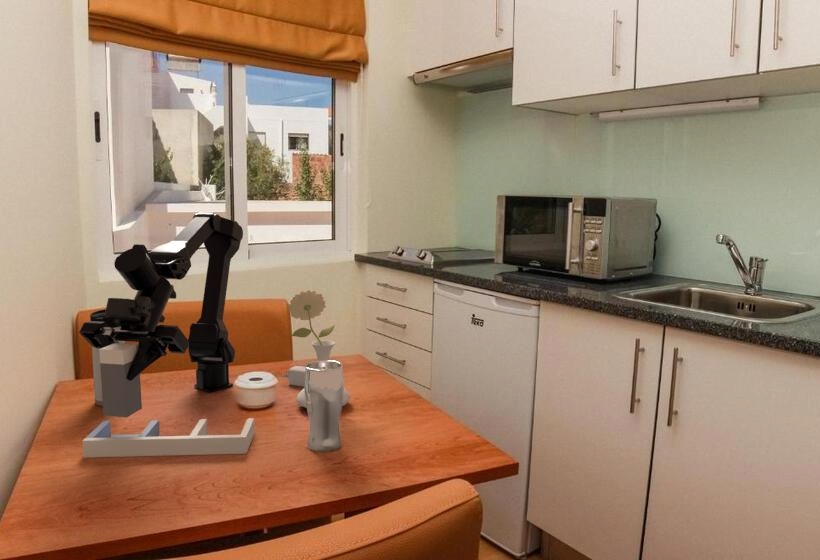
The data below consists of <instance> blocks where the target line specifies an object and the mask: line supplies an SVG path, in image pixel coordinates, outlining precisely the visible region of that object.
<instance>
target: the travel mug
mask: <svg viewBox="0 0 820 560" xmlns="http://www.w3.org/2000/svg"><path fill="white" fill-rule="evenodd" d="M105 310H106V308H105V309H101V310H100V309H99V310H96V311H93V312H92V313H90V315H89V317H90V320H89V321H98V322H106V323H107V324H108V325H109V326H110V328H113V329H115V330H120V328H121V327H120V326H117V325H116V324H115V323H114V322H115V320H116V319H115V318H112V317H109V316H108V317H106V316H105ZM120 343H125V341H121V342H120ZM91 354H92V357H91V358H92V372H93V373H92V375H93V387H94V388H93V390H94V391H93V392H94V403H95V404H96V406H100V407H103V401H102V385H101V369H100V353H99V349H97V348H95V347H93V346H92V345H91Z"/></svg>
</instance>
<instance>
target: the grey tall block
mask: <svg viewBox="0 0 820 560" xmlns="http://www.w3.org/2000/svg"><path fill="white" fill-rule="evenodd" d="M138 346H139V343H127V342H126V343H125V342H124V343H114V344H111V345H109V346H106V347H103V348H101V349H99V353H100V369H101V385H102V401H103V406H102V412H103V416H104V417H118V418H128V417H131V416H132V415H133V414H134V415H135V414H136V412H139V411H140V410H142V408H143V407H142V406H143V404H142V387H141V385H142V384H141V383H142V382H141V373H140V374H138V375H137V376H136V377H135V378H134V379H133V380H131V381H129V380H128V379H127V375H128V372H129V369H130V367H131V364H132V362H133V360H134V358H135V355H136V353H137V351H138Z"/></svg>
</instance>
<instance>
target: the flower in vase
mask: <svg viewBox="0 0 820 560" xmlns="http://www.w3.org/2000/svg"><path fill="white" fill-rule="evenodd" d="M289 302H290V303H289V304H288V305H287V309H288V312H289V313H290V316H291V317H292V318H294V319H300V321H308V322H309V327H310V329H309V328H306V327H300V328H298V329H296V330H295V331H294V332H292V334H291V336H292V337H298V338H307V337H308V336H309V335H310V334H313V335H314V336H315V338H316V339H317V340H314V341H312V342H311V343H310V344H311V346H312V347H313V349H314V351H315V353H316V358H317V361H319V360H330V355H331V351H332V349H333V347H334V346H335V344H336V342H335V341H334V340H328V339H323V340H322V339H320V338H325V337H327V336H329V335H330V334H332V332H333V330H334V329H335V324H334V325H332V326H330V327H326V328H325V329H322V330H321V331H320V332H319V333H318V335H317V334H316V333H315V330H313V326H312V321H311V319H315V317H318V316H319V317H320V316H321V313H323V312H324V309H326V308H327V307H326V301H325V300H324V297H323V294H322V293H317V292H316V291H315V290H313V291H311V290H307V291H300V293H299V294H298V293H297V294H295V295H294V296H293V297H292V299H291V300H290V301H289ZM350 401H351V395H350V393H349V391H348V390H346V389H345V388H344V395H343V403H342V407H343V406H345V405H347V404H348V403H349V402H350ZM296 402H297V403H298V405H299V406H301V407H303V408H305V409H307V407H306V401H305V389H304V388H302V389H301V391H300V392H299V393H298V395H297V397H296Z"/></svg>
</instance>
